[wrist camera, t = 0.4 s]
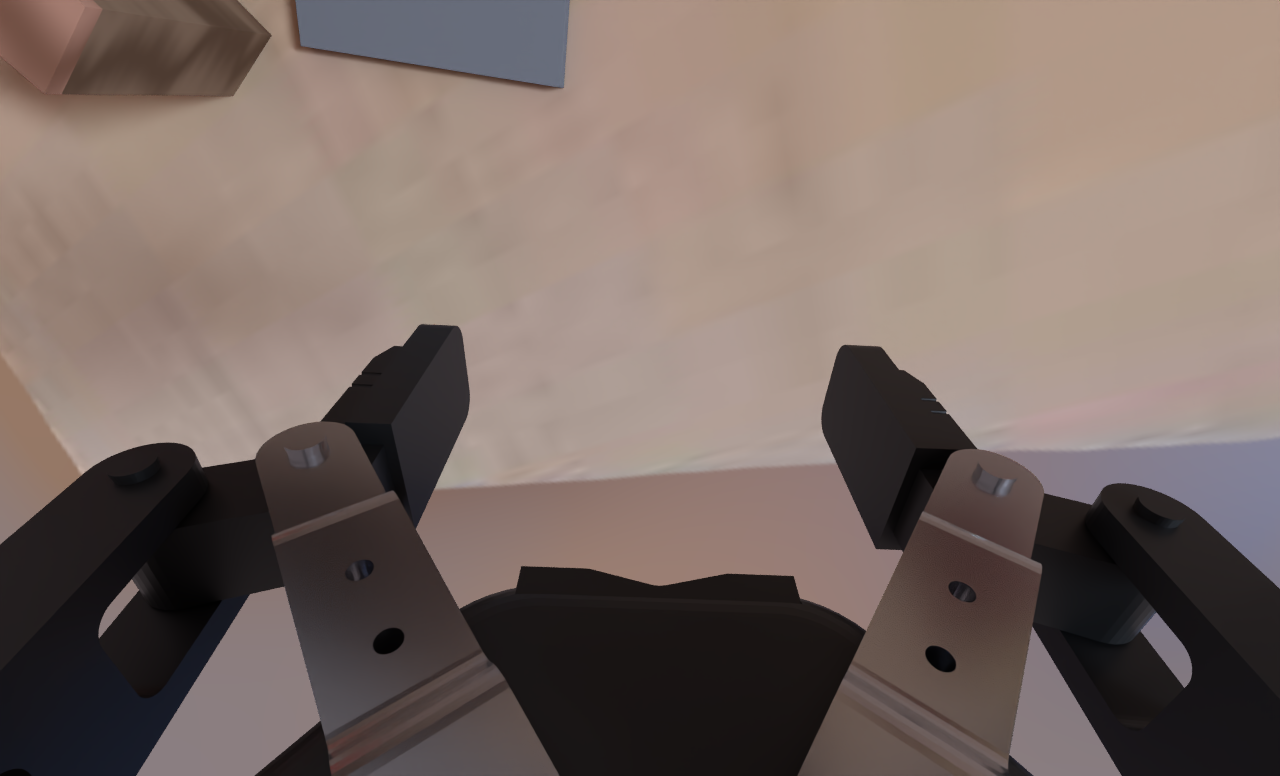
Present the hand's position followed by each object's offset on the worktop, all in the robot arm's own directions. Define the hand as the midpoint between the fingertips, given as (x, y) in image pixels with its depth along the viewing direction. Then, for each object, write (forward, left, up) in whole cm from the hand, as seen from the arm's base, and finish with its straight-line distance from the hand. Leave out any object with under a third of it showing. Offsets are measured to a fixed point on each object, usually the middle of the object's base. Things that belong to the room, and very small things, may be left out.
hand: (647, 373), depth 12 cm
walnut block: (-5, -30, -28) cm, 41 cm away
